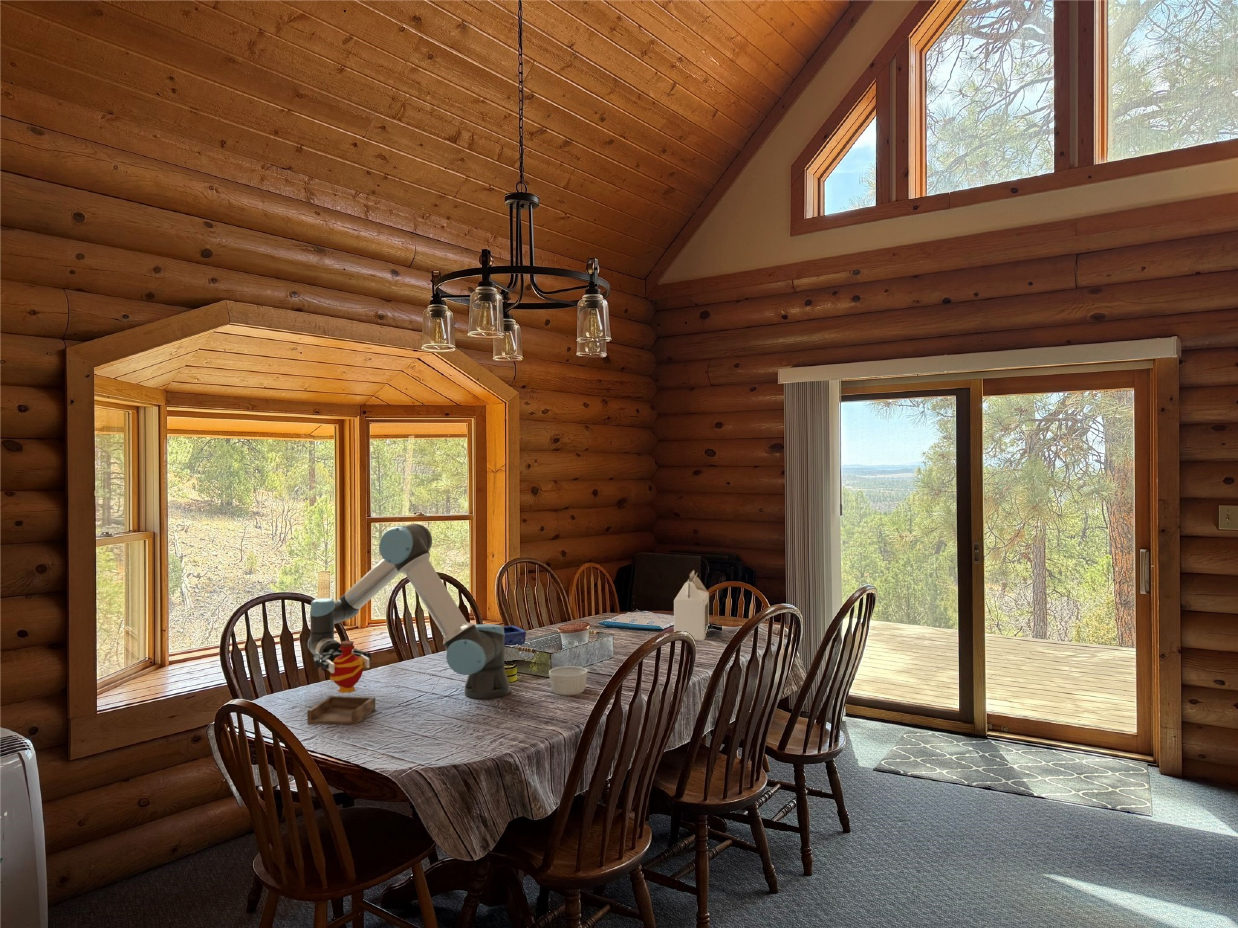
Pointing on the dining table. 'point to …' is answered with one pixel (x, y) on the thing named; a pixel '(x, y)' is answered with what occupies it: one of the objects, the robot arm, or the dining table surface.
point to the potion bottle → (347, 668)
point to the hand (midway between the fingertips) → (350, 665)
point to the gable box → (692, 608)
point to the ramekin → (568, 680)
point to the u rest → (341, 710)
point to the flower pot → (514, 635)
